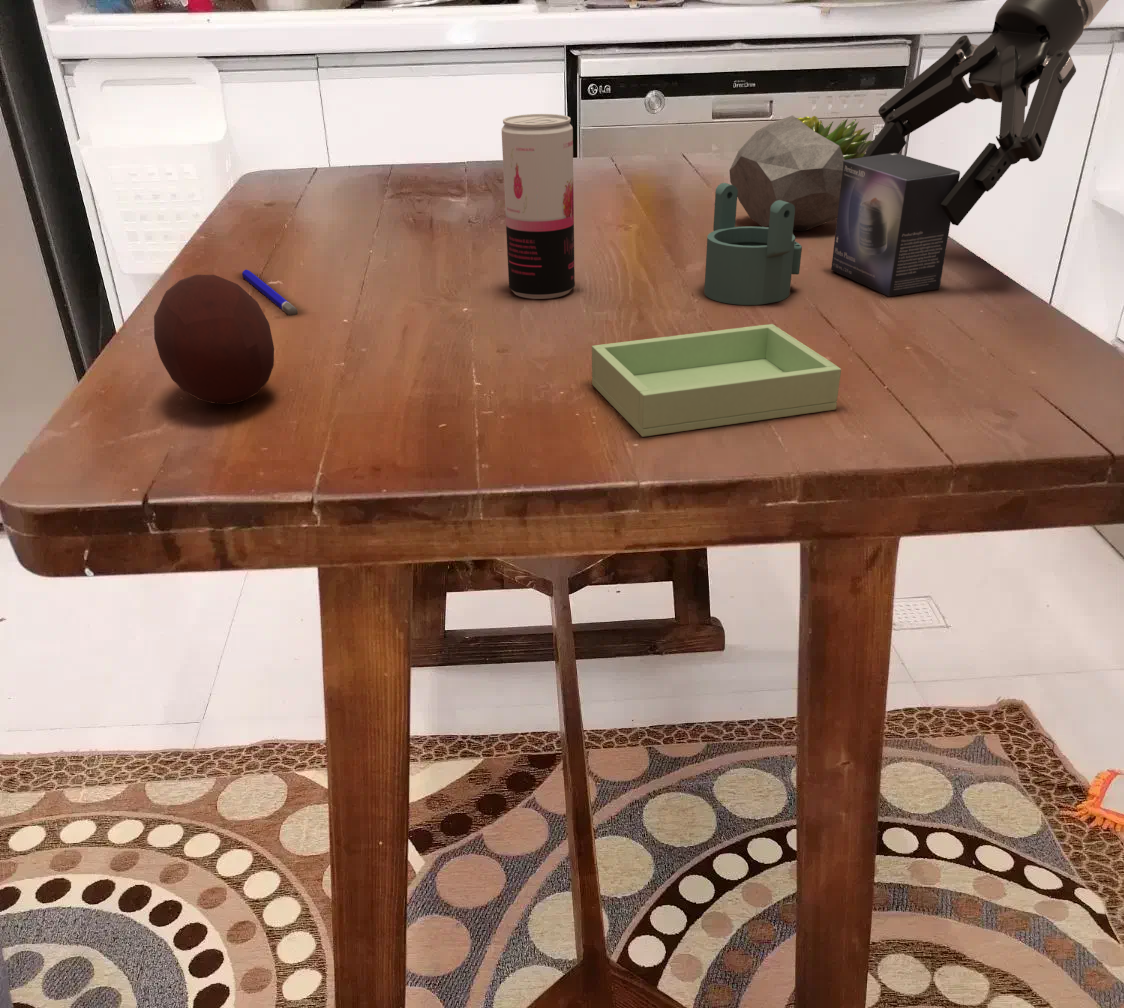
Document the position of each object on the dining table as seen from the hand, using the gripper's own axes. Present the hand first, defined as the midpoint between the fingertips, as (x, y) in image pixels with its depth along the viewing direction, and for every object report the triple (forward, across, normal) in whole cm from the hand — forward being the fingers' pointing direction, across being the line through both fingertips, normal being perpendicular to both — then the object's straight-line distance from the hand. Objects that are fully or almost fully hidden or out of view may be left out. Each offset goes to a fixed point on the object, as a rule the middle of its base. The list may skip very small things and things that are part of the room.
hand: (899, 201), depth 106 cm
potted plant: (+1, +23, -10) cm, 25 cm away
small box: (+6, 0, -4) cm, 7 cm away
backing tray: (+29, -19, +19) cm, 39 cm away
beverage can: (+28, +14, +17) cm, 36 cm away
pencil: (+45, +28, +34) cm, 63 cm away
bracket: (+15, +3, +5) cm, 17 cm away
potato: (+52, 0, +42) cm, 67 cm away
